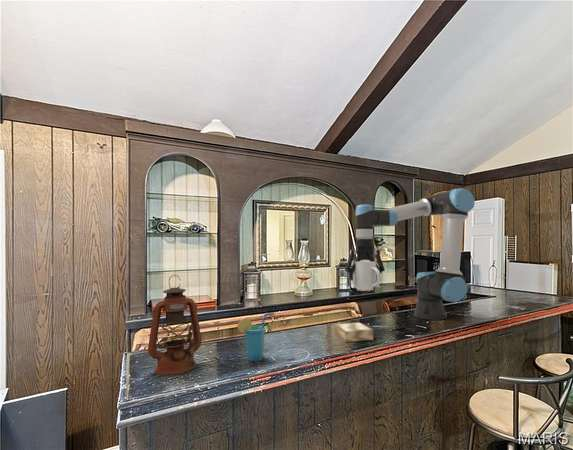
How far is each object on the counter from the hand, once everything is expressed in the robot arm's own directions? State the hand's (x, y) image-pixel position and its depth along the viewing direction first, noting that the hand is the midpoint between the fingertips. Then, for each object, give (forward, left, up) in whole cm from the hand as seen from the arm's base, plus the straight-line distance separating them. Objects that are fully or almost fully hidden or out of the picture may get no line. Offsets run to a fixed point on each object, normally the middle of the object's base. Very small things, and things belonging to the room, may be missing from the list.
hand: (365, 287), depth 144 cm
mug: (0, 0, -1) cm, 2 cm away
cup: (+52, +22, -19) cm, 59 cm away
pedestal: (+10, +8, -19) cm, 23 cm away
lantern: (+79, +23, -19) cm, 84 cm away
